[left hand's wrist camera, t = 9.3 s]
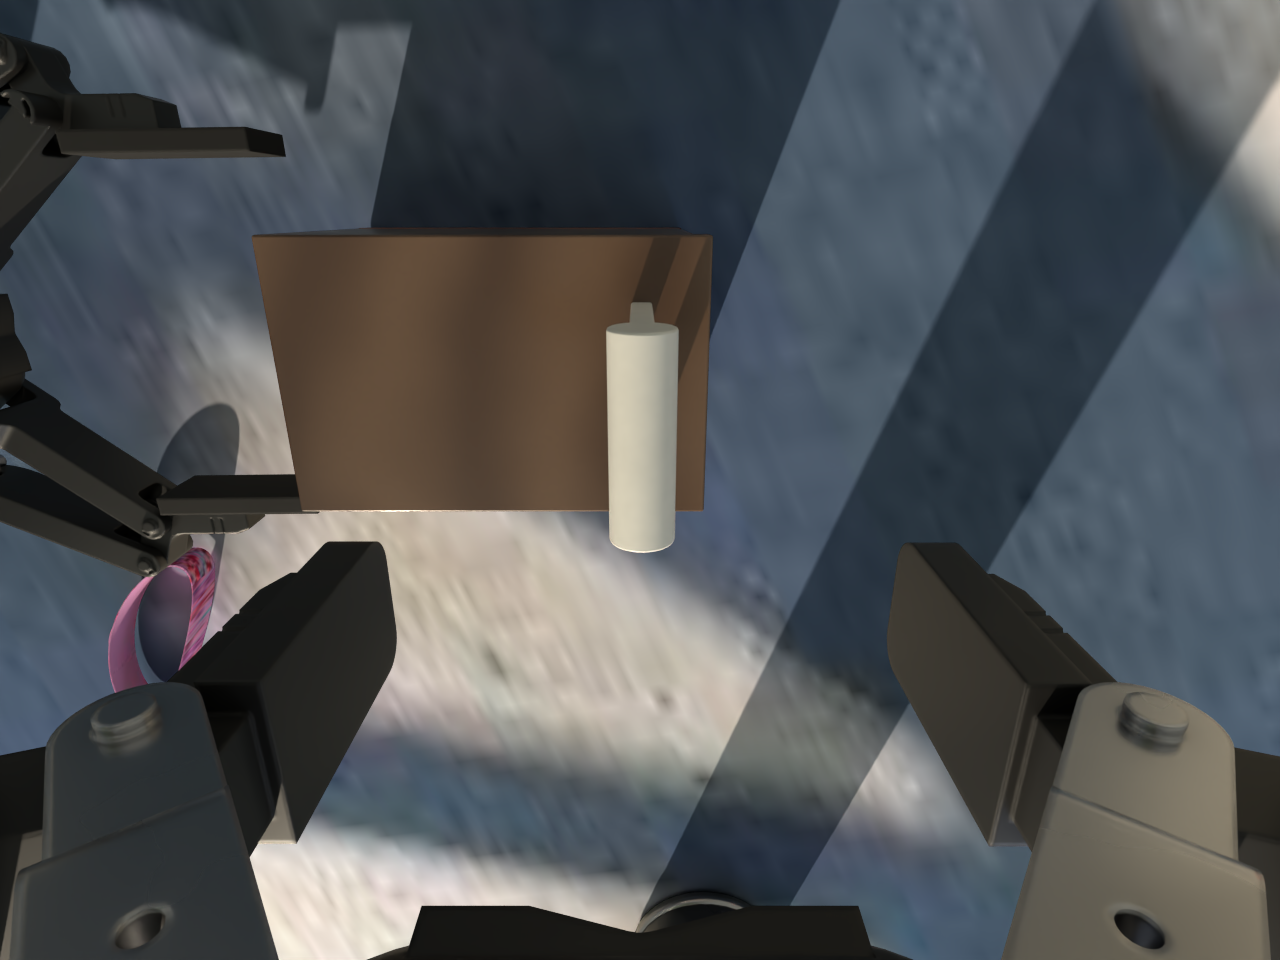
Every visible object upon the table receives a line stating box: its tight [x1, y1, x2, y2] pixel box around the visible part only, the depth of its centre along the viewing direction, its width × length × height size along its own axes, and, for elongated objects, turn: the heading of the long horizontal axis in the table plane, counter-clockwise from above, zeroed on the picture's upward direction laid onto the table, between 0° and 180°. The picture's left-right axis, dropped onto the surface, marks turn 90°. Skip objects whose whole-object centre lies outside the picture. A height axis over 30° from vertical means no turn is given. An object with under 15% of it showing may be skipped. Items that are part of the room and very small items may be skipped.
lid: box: [252, 234, 713, 552], centre depth 22 cm, size 15×10×9 cm, turn 90°
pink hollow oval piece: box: [108, 548, 215, 693], centre depth 39 cm, size 11×4×2 cm, turn 157°
